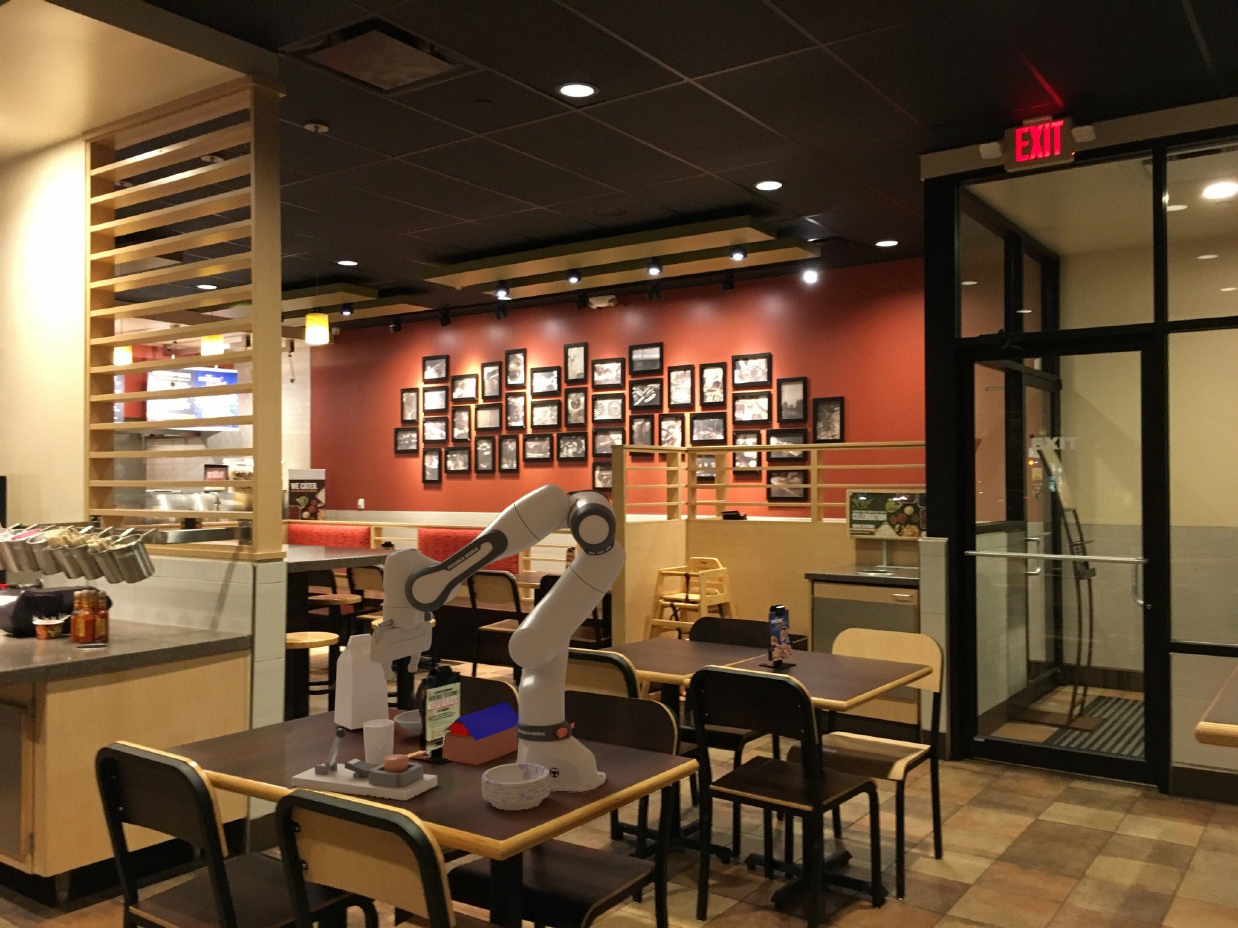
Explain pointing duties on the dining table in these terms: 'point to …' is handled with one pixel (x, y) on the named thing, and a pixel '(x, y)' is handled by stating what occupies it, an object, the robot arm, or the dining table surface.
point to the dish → (409, 721)
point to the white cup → (378, 740)
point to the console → (367, 781)
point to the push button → (396, 763)
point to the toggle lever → (335, 747)
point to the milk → (359, 685)
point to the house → (482, 735)
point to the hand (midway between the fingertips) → (401, 675)
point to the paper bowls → (516, 785)
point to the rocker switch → (359, 766)
